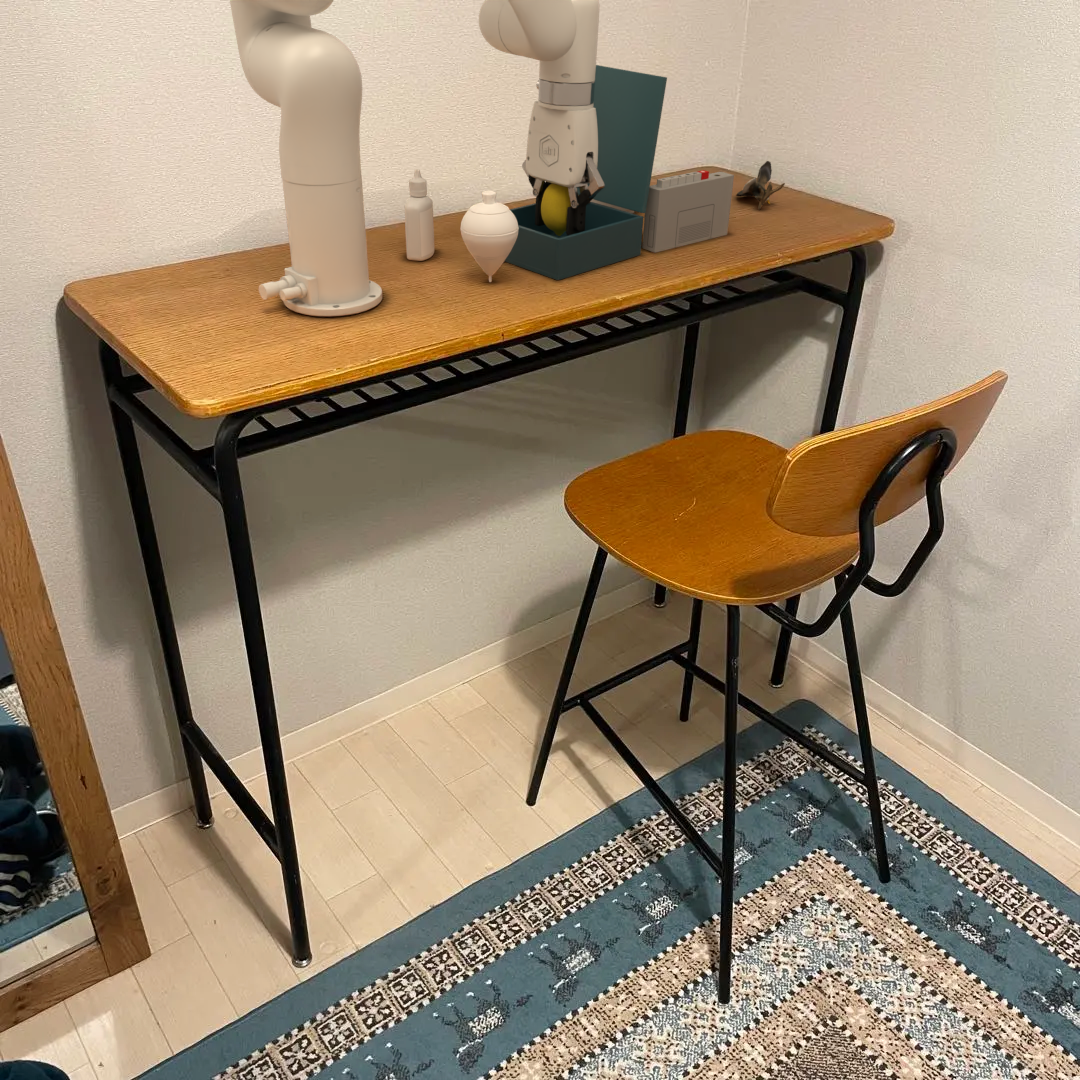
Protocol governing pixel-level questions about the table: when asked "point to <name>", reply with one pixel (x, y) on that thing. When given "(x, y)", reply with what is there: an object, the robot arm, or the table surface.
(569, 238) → the chest
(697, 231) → the cassette player
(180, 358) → the table surface
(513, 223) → the spinning top
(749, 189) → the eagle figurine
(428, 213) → the eye dropper bottle
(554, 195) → the lemon
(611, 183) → the lid
